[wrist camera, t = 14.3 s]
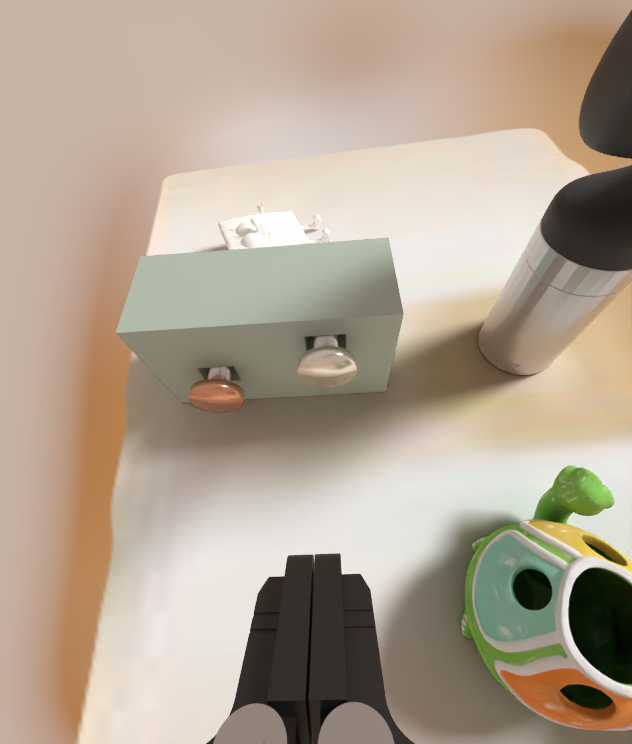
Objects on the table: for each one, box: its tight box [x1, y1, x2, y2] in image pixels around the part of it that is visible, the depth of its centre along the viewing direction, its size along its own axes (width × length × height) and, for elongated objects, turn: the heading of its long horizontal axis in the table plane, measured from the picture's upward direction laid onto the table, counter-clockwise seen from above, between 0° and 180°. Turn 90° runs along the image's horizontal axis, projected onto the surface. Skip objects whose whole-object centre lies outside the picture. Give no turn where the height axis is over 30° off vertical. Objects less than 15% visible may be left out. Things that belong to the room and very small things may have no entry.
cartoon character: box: [218, 203, 330, 250], centre depth 56 cm, size 8×20×16 cm
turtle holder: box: [461, 466, 632, 731], centre depth 28 cm, size 12×18×12 cm
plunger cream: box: [297, 335, 357, 388], centre depth 36 cm, size 13×6×6 cm, turn 2°
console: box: [116, 238, 403, 403], centre depth 40 cm, size 10×26×15 cm, turn 92°
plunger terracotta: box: [189, 366, 244, 412], centre depth 41 cm, size 13×6×6 cm, turn 2°
